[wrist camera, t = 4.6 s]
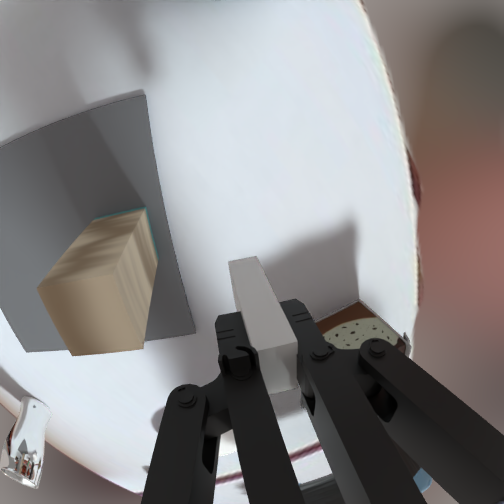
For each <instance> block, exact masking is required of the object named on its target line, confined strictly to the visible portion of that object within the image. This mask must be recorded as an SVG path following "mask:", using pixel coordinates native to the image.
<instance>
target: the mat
mask: <svg viewBox="0 0 504 504" xmlns="http://www.w3.org/2000/svg"><path fill="white" fill-rule="evenodd" d="M141 207H146V208H147V213H148V217H149V221H150V225H151V230H152V234H153V238H154V242H155V245H156V249H157V253H158V257H159V260H158V265H157V269H156V275H155V280H154V285H153V290H152V296H151V302H150V307H149V313H148V320H147V326H146V333H145V340H144V341H150V340H157V339H164V338H171V337H177V336H183V335H189V334H195V333H196V330H195V327H194V324H193V320H192V317H191V313H190V310H189V306H188V303H187V299H186V295H185V292H184V288H183V284H182V280H181V276H180V272H179V269H178V265H177V261H176V256H175V252H174V248H173V244H172V240H171V235H170V231H169V226H168V222H167V217H166V213H165V208H164V203H163V198H162V193H161V188H160V183H159V177H158V172H157V166H156V161H155V155H154V149H153V143H152V137H151V130H150V123H149V116H148V109H147V101H146V95H142V96H137V97H133V98H129V99H126V100H122V101H118V102H115V103H111V104H108V105H104V106H101V107H98V108H95V109H91V110H88V111H85V112H82V113H79V114H77V115H74V116H71V117H68V118H66V119H63V120H60V121H58V122H55V123H53V124H50V125H48V126H45V127H43V128H40V129H38V130H36V131H34V132H31V133H29V134H27V135H25V136H23V137H20V138H18V139H16V140H14V141H12V142H10V143H8V144H6V145H4V146H2V147H0V308H1V310H2V312H3V314H4V316H5V317H6V319H7V321H8V323H9V325H10V326H11V328H12V330H13V332H14V333H15V335H16V337H17V338H18V340H19V342H20V343H21V345H22V346H23V348H24V350H25V351H26V352H43V351H58V350H68V348H67V346H66V345H65V343H64V341H63V339H62V338H61V336H60V334H59V332H58V331H57V329H56V327H55V325H54V323H53V321H52V319H51V318H50V316H49V314H48V312H47V310H46V308H45V306H44V304H43V302H42V299H41V297H40V295H39V293H38V291H37V289H36V288H37V287H38V286H39V284H40V283H41V282H42V280H43V279H44V278H45V276H46V275H47V274H48V272H49V271H50V270H51V269H52V267H53V266H54V265H55V264H56V262H57V261H58V260H59V259H60V257H61V256H62V255H63V254H64V253H65V251H66V250H67V249H68V248H69V247H70V246H71V244H72V243H73V242H74V241H75V240H76V239H77V237H78V236H79V235H80V234H81V233H82V232H83V231H84V230H85V228H86V227H87V226H88V225H89V224H90V223H91V222H92V221H93V220H94V219H95V218H98V217H102V216H106V215H110V214H115V213H119V212H123V211H128V210H132V209H137V208H141Z"/></svg>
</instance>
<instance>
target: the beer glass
mask: <svg viewBox="0 0 504 504" xmlns="http://www.w3.org/2000/svg"><path fill="white" fill-rule="evenodd" d="M51 417H52V412H51V410H50V409H49V408H48V407H47V406H46V405H45V404H44V403H42V402H41V401H39V400H37V399H35V398H33V397H29V396H25V397H23V398H22V399H21V405H20V411H19V415H18V417H17V419H16V422H15V423H14V425H13V427H12V428H11V430H10V432H9V434H8V436H7V438H6V440H5V443H4V446H3V451H2V455H1V462H0V470H1V471H2V472H3V473H4V474H5V475H7V476H8V477H10V478H12V479H13V480H15V481H17V482H19V483H21V484H23V485H25V486H28V487H31V488H35V489H38V486H39V482H40V478H41V474H42V469H43V463H44V443H45V431H46V427H47V425H48V423H49V421H50V419H51Z"/></svg>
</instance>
